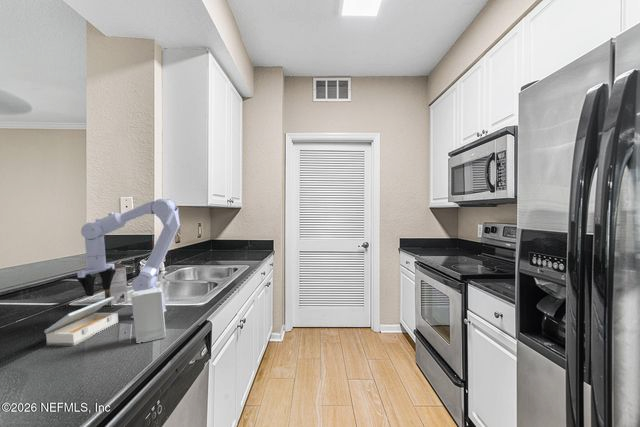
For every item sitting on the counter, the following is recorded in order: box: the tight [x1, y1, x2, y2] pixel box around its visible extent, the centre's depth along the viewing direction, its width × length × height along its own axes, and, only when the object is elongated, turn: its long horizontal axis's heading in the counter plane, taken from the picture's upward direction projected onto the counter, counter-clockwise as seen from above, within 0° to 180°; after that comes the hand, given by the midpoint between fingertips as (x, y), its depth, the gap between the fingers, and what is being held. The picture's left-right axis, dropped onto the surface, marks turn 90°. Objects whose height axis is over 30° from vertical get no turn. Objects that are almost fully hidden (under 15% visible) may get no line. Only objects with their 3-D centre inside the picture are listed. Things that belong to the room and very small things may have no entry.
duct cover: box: [43, 296, 115, 334], centre depth 106 cm, size 10×18×1 cm
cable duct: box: [45, 312, 119, 347], centre depth 107 cm, size 10×18×4 cm, turn 173°
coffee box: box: [104, 262, 129, 307], centre depth 139 cm, size 9×6×16 cm
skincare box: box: [130, 286, 167, 344], centre depth 100 cm, size 8×6×15 cm
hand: (98, 292), depth 119 cm, fingers open, 7 cm apart
